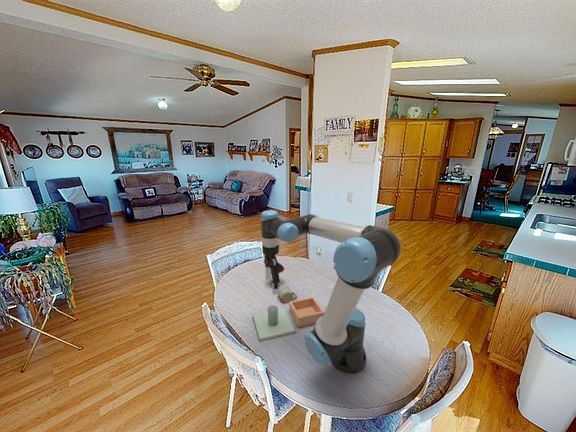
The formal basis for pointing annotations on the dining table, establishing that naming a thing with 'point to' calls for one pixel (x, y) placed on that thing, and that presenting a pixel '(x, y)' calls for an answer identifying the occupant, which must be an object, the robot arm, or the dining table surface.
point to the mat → (270, 338)
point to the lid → (273, 323)
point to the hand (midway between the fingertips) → (271, 286)
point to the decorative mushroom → (280, 268)
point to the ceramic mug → (286, 293)
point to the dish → (305, 311)
